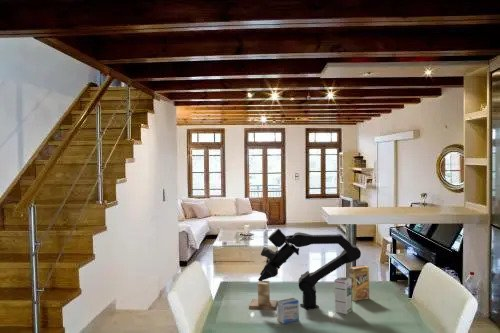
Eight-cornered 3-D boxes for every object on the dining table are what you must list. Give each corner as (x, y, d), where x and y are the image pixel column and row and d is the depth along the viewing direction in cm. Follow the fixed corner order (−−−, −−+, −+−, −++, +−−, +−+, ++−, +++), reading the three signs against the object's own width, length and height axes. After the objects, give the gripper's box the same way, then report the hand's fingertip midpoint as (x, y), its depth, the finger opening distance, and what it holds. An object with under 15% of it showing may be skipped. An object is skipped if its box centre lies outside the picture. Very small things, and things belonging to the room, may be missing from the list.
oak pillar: (269, 301, 204) (269, 280, 204) (269, 304, 200) (268, 284, 199) (259, 301, 205) (258, 280, 205) (258, 304, 200) (257, 283, 200)
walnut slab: (277, 304, 206) (277, 300, 206) (275, 311, 197) (275, 306, 197) (252, 303, 208) (252, 299, 208) (248, 310, 199) (248, 305, 199)
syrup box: (347, 314, 190) (346, 281, 189) (334, 311, 193) (334, 279, 193) (352, 310, 194) (352, 278, 194) (340, 308, 198) (339, 276, 197)
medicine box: (283, 324, 180) (282, 303, 180) (277, 320, 184) (277, 300, 184) (299, 320, 184) (298, 300, 183) (293, 317, 188) (293, 297, 187)
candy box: (354, 301, 206) (354, 269, 206) (349, 298, 210) (348, 266, 210) (369, 298, 210) (369, 266, 209) (364, 296, 214) (363, 264, 213)
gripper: (272, 237, 210) (249, 260, 212) (269, 246, 192) (244, 270, 193) (288, 254, 210) (266, 276, 211) (287, 264, 191) (262, 288, 193)
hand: (259, 277), depth 202 cm, fingers open, 9 cm apart
